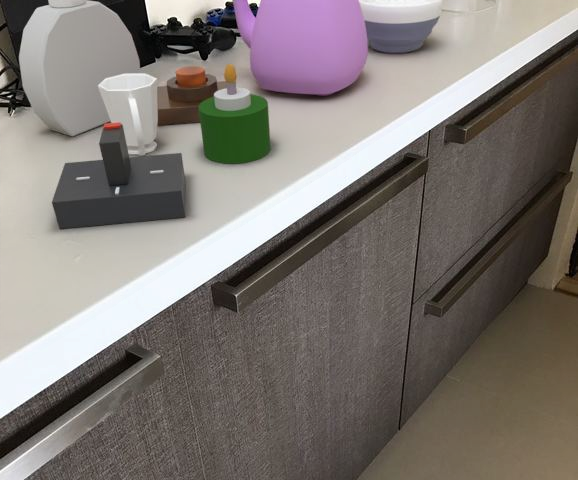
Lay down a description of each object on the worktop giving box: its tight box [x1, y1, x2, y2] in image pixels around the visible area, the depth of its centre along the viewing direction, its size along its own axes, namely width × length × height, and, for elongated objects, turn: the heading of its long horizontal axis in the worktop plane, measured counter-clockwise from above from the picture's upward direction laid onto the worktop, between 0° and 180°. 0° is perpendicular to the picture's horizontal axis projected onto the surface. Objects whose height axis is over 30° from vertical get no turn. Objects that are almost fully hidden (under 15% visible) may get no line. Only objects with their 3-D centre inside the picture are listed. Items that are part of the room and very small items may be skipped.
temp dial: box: [98, 122, 131, 186], centre depth 69 cm, size 5×2×5 cm, turn 7°
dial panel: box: [51, 152, 186, 230], centre depth 72 cm, size 13×10×3 cm
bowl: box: [359, 0, 444, 54], centre depth 112 cm, size 14×14×8 cm
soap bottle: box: [18, 0, 141, 137], centre depth 86 cm, size 16×5×20 cm, turn 142°
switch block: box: [157, 73, 227, 127], centre depth 93 cm, size 12×10×4 cm
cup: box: [98, 72, 158, 157], centre depth 81 cm, size 7×10×8 cm
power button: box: [175, 65, 206, 86], centre depth 91 cm, size 4×4×2 cm
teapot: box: [231, 0, 369, 97], centre depth 99 cm, size 23×21×15 cm
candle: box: [198, 63, 271, 165], centre depth 79 cm, size 8×8×10 cm
